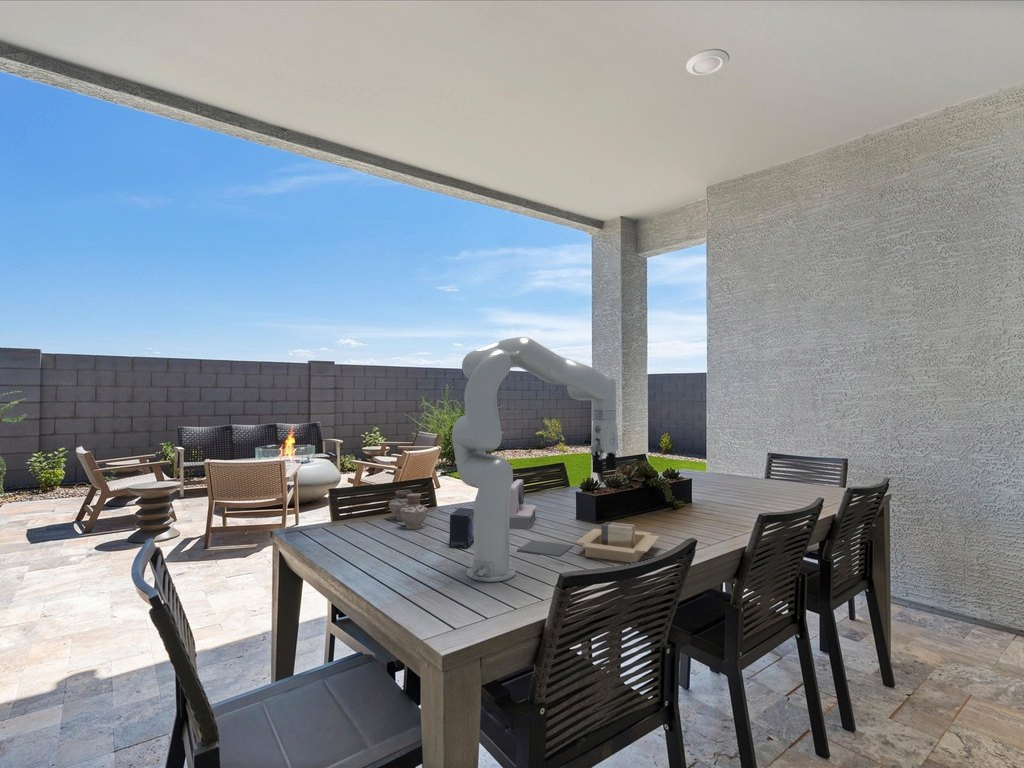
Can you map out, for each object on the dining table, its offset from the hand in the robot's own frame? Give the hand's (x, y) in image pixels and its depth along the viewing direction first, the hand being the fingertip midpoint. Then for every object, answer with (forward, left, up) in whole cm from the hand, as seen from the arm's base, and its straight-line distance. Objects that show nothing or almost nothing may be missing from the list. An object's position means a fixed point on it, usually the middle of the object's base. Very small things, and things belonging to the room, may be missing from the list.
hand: (604, 470), depth 168 cm
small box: (-15, +42, -24) cm, 51 cm away
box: (-2, -5, -24) cm, 25 cm away
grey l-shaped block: (+18, +42, -25) cm, 52 cm away
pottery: (0, +75, -25) cm, 79 cm away
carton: (-2, -5, -24) cm, 25 cm away
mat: (-9, +16, -24) cm, 31 cm away
